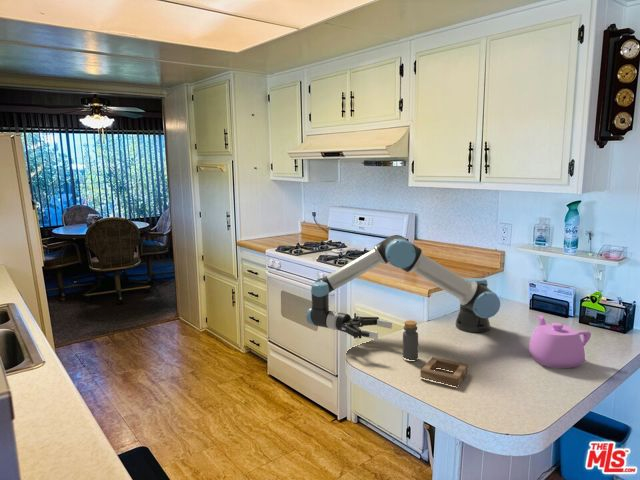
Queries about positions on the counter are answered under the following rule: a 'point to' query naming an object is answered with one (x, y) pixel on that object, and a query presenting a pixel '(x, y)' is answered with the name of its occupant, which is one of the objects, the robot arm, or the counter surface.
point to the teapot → (558, 345)
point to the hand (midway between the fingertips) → (384, 330)
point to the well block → (445, 378)
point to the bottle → (410, 340)
